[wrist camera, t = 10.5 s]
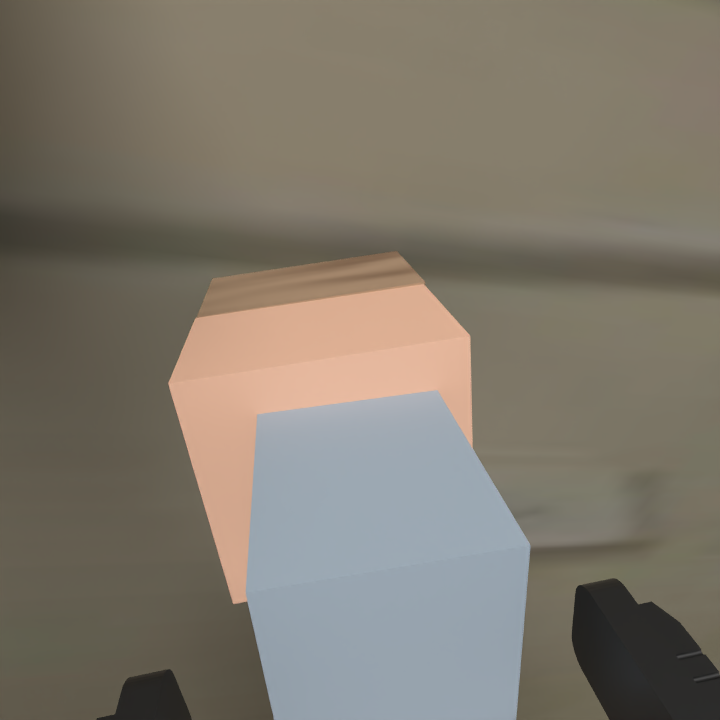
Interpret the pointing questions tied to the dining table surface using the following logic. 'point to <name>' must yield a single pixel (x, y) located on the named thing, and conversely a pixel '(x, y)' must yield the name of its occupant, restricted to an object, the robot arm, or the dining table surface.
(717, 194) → the dining table surface
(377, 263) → the tower base
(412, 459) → the slate block
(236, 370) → the tower top
